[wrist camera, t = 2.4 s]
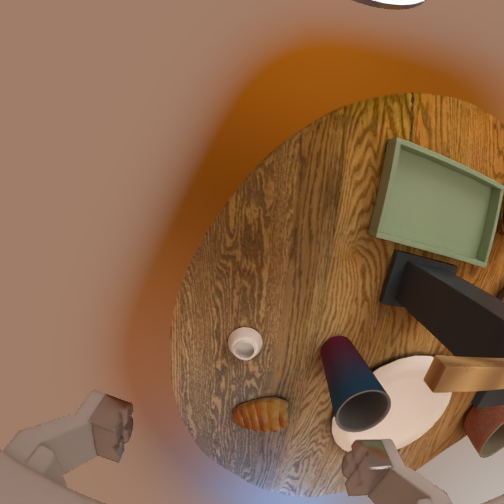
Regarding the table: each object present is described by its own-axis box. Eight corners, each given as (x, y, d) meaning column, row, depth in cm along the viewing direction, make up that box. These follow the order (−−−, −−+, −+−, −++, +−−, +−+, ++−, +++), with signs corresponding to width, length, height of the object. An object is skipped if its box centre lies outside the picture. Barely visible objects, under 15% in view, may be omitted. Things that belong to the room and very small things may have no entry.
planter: (463, 402, 49) (487, 432, 38) (503, 379, 48) (528, 404, 37) (455, 437, 51) (474, 465, 40) (493, 415, 50) (514, 440, 40)
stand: (394, 249, 42) (519, 322, 16) (454, 264, 42) (572, 330, 17) (378, 300, 43) (476, 409, 18) (438, 311, 44) (539, 398, 18)
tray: (387, 139, 38) (397, 136, 35) (492, 184, 39) (504, 185, 36) (367, 233, 41) (375, 237, 38) (475, 263, 42) (485, 268, 39)
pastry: (236, 425, 49) (234, 439, 45) (230, 397, 47) (228, 412, 44) (289, 420, 48) (291, 435, 45) (287, 392, 47) (289, 406, 43)
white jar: (222, 346, 45) (251, 360, 46) (220, 356, 42) (251, 371, 43) (238, 320, 44) (268, 335, 45) (237, 329, 41) (269, 345, 42)
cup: (311, 367, 46) (329, 433, 31) (319, 329, 44) (344, 390, 30) (351, 368, 46) (380, 430, 31) (362, 331, 44) (399, 388, 30)
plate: (302, 415, 48) (303, 421, 46) (419, 323, 44) (423, 328, 42) (370, 464, 52) (372, 469, 50) (464, 393, 48) (468, 398, 46)
